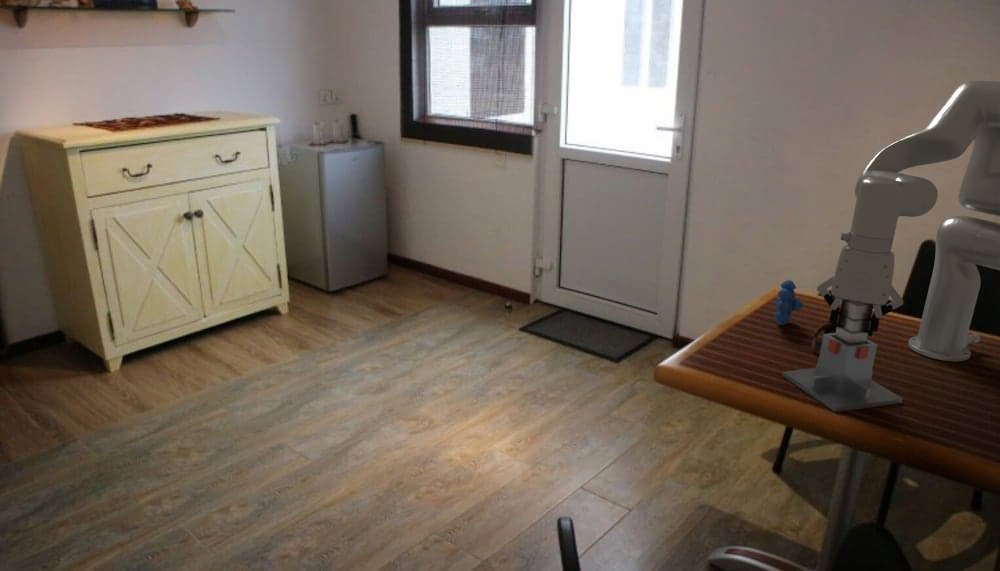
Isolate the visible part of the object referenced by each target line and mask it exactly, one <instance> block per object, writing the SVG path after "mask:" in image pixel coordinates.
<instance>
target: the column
mask: <svg viewBox="0 0 1000 571" xmlns="http://www.w3.org/2000/svg"><path fill="white" fill-rule="evenodd" d="M839 308H840V311H839V316H838V321H837V322H838V323H837V325H836V326H837V328H836V333H835V339H837V340H839V341H841V342H842V343H844V344H846V345H848V346H854V345H863V344H866V339H867V338H868V332H869V327H870V323H871V319H872V314H873V312H874V308H873V305H871V304H865V303H860V302H859V301H856V302H854V301H848V300H842V302H841V303H840V307H839ZM867 340H868V339H867Z"/></svg>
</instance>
